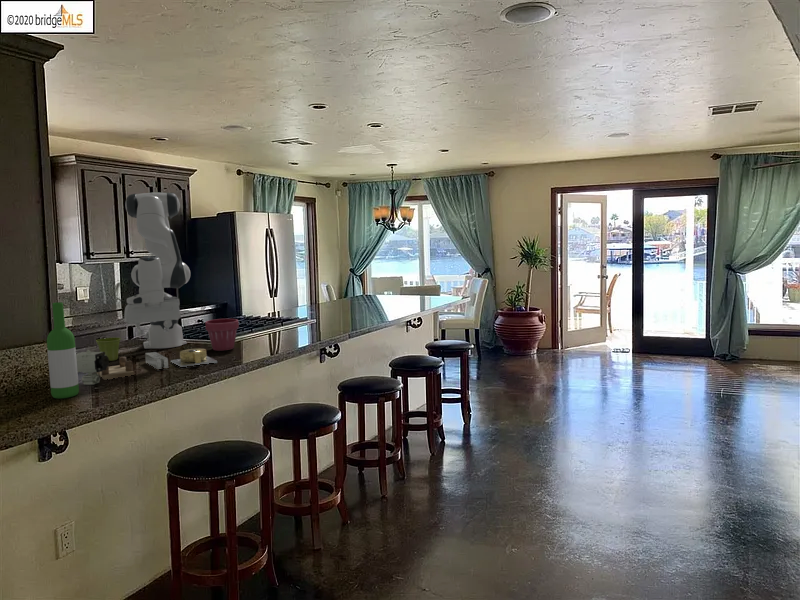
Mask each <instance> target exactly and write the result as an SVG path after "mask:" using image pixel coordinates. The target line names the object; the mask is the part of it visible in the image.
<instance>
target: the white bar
mask: <svg viewBox="0 0 800 600" xmlns="http://www.w3.org/2000/svg"><path fill="white" fill-rule="evenodd" d="M144 355H145V356H144V357H145V364H147V363H148V364H149V365H148V364H147V365H148V366H150V365H151V366H153V367H154V368H153V367H152V368H153V369H155V368H156V369H163V368H169V358H168V357H166V356H164V355H162V354H160V353H158V352H157V351H153V352H145V353H144ZM151 366H150V367H151ZM162 367H163V368H162ZM156 369H155V370H156Z"/></svg>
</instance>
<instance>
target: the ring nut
mask: <svg viewBox="0 0 800 600" xmlns="http://www.w3.org/2000/svg"><path fill="white" fill-rule="evenodd" d="M207 356H208V354H207V349H206V348H189V349H184V350H180V351H179V359H180V361H181V362H195V363H201V361H203V360H206V359H207Z"/></svg>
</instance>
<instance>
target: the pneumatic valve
mask: <svg viewBox="0 0 800 600" xmlns="http://www.w3.org/2000/svg"><path fill="white" fill-rule="evenodd" d="M76 360H77V371H78V373H83V375H82V378H81V382H82V384H83V385H84V386H94V385H96V384H99V383H100V380H101V377H100V376H99V375H98V374H97V373H96V372H101V371H103V370H106V368H107V367H108V366H109V365H110V360H109V358H108V357H107V356H106V355H105V352H100V351H91V349H87V350H86V351H79V352H76Z"/></svg>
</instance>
